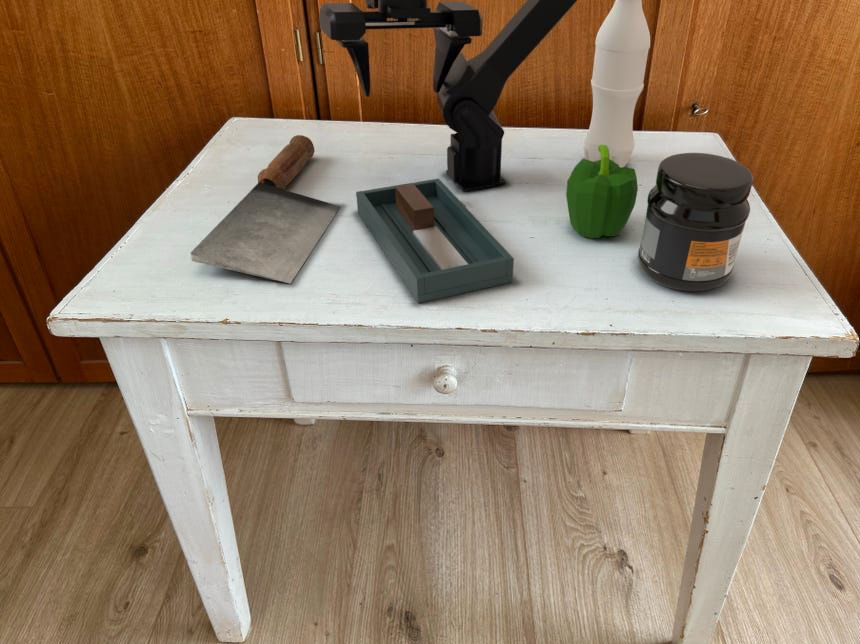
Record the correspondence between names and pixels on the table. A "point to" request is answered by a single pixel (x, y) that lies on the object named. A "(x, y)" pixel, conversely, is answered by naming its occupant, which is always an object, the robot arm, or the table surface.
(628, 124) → the water bottle
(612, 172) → the bell pepper
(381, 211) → the tray
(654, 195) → the supplement container
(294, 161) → the meat cleaver
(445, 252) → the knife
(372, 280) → the table surface
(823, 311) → the table surface
